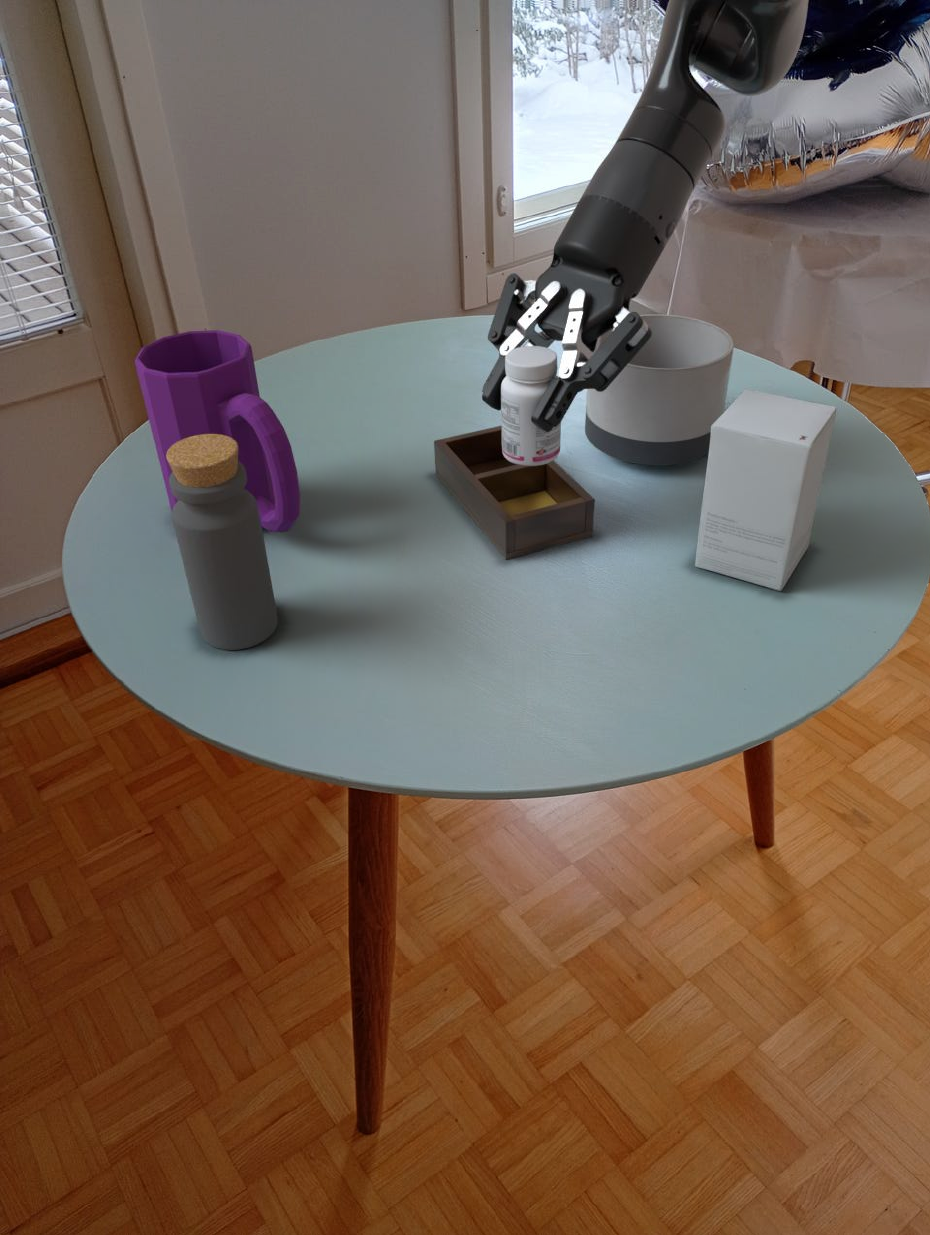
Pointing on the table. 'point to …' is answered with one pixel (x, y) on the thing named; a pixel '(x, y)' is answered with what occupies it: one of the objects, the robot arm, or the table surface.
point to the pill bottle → (527, 406)
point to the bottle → (221, 542)
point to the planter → (664, 394)
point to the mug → (219, 414)
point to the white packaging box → (762, 486)
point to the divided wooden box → (513, 494)
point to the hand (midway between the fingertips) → (515, 415)
